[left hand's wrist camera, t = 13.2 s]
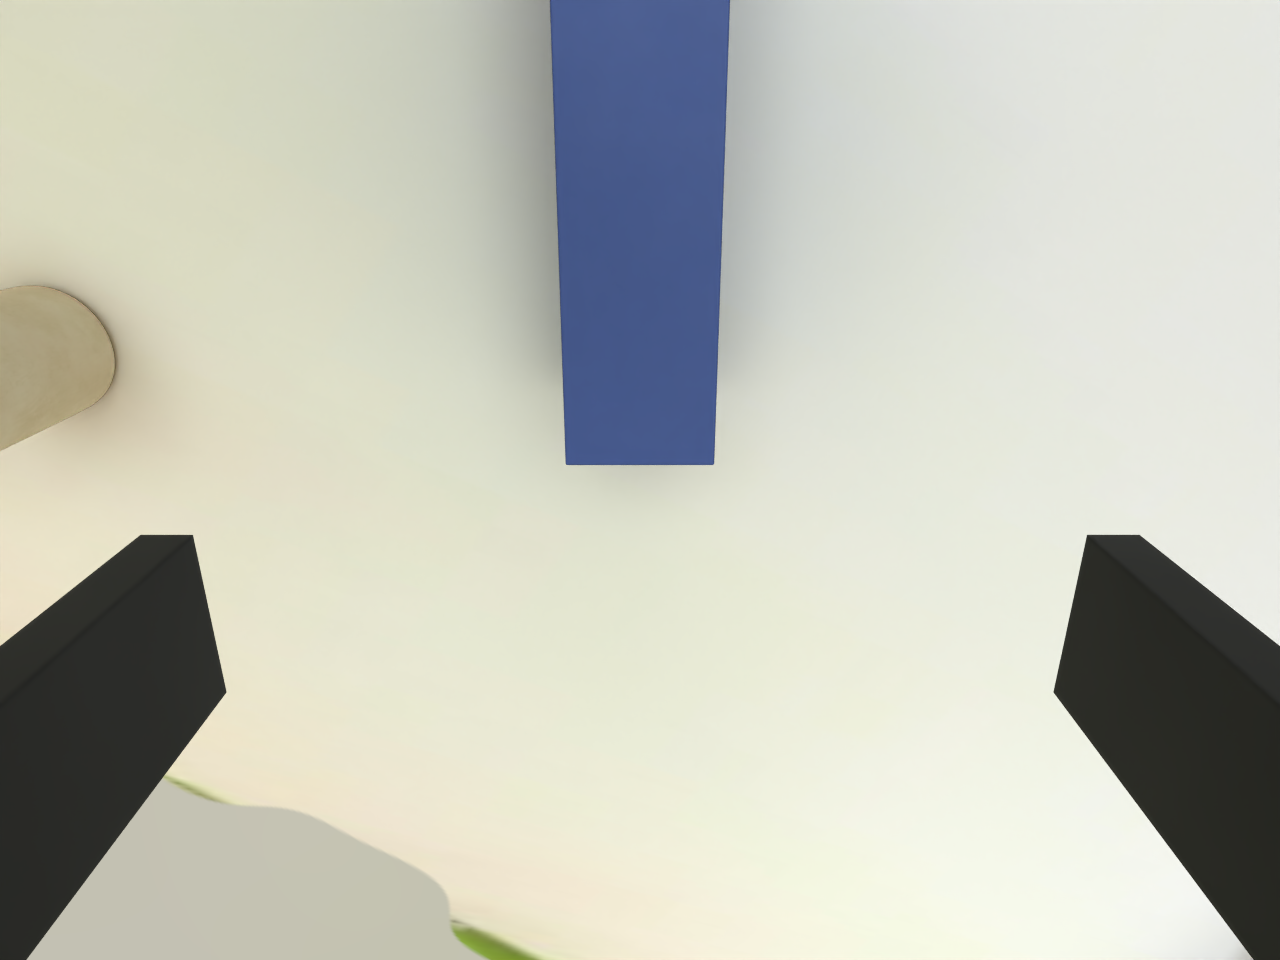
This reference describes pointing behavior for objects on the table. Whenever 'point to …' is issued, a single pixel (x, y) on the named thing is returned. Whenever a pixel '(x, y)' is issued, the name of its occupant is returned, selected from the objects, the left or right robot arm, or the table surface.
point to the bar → (639, 224)
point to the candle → (48, 360)
